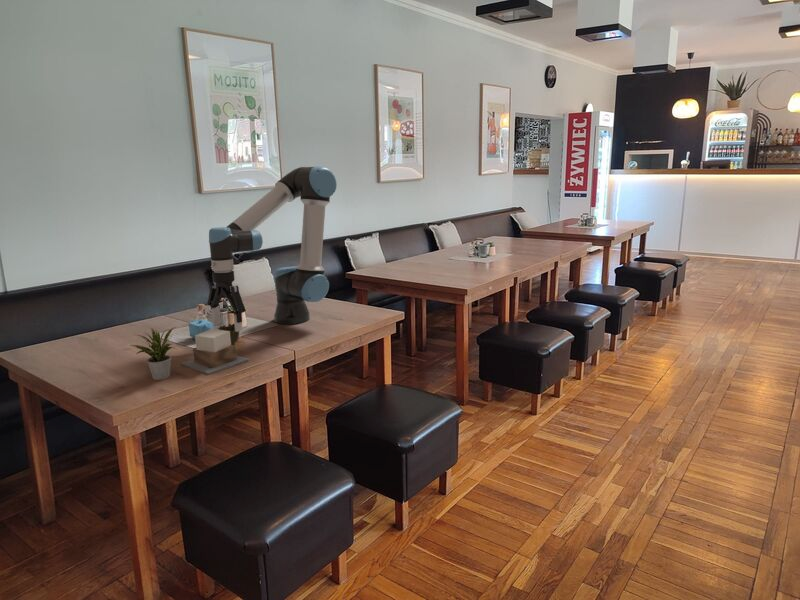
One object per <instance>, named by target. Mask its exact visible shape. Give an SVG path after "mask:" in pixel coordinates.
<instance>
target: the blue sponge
mask: <svg viewBox="0 0 800 600" xmlns="http://www.w3.org/2000/svg"><path fill="white" fill-rule="evenodd" d="M188 329H189V331H188V332H189V336H190V338H193V340H195V335H197V334H200V333H203V332H205V331H208V330H210V329H214V325H213V321H208V320H206V319H198V320H194V319H193V318H192V319H190V322H188Z"/></svg>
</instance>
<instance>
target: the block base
mask: <svg viewBox="0 0 800 600" xmlns="http://www.w3.org/2000/svg"><path fill="white" fill-rule="evenodd" d="M192 353H193V359H194V362H195V363H198V364H200V365H203V366H206V367H208V368H214V367H217V366H220V365H223V364H226V363H229V362H232V361H235V360H237V359H236V355H237V351H236V346H233V345H230V346H228V347H226V348H224V349H221V350H219V351H217V352H209V351H203V350H197V349H196V347H194V348H192Z"/></svg>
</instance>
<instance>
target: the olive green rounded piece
mask: <svg viewBox="0 0 800 600" xmlns="http://www.w3.org/2000/svg"><path fill="white" fill-rule="evenodd" d="M217 330H224V331H230V338H231V345H233V346H235V347H236V345H237V344H236V343H238V341H239V338H240V331H237V332H235V325H234V323H232V324H230V323H229V324H228V325H227V326H226V325H225V324H223V325H220V326H219V327H218V329H217Z"/></svg>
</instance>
